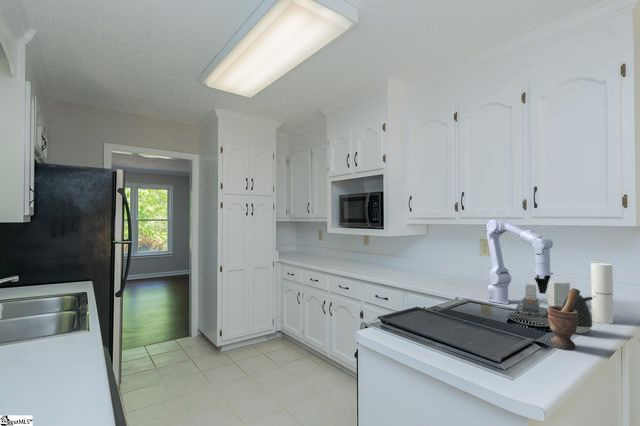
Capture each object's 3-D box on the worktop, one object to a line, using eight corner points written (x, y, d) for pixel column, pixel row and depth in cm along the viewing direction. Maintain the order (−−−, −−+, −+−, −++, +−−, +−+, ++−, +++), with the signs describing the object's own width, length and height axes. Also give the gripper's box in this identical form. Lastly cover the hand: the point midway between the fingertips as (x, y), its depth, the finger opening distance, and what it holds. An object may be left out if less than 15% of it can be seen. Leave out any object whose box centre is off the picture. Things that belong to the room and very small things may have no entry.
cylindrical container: (608, 324, 138) (607, 265, 138) (588, 320, 144) (587, 263, 145) (616, 322, 141) (615, 264, 142) (596, 317, 148) (595, 262, 148)
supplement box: (570, 308, 163) (570, 283, 163) (553, 307, 164) (553, 282, 164) (562, 304, 170) (562, 280, 170) (546, 304, 171) (546, 279, 171)
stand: (515, 312, 156) (514, 300, 156) (518, 307, 166) (518, 295, 166) (545, 317, 149) (545, 304, 149) (547, 311, 158) (547, 298, 158)
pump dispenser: (596, 338, 123) (595, 297, 123) (562, 333, 128) (561, 294, 129) (590, 329, 132) (589, 292, 132) (558, 325, 137) (557, 289, 137)
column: (525, 302, 157) (525, 285, 157) (526, 301, 160) (526, 283, 160) (535, 304, 154) (535, 286, 154) (536, 302, 158) (536, 285, 158)
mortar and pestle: (555, 337, 124) (555, 284, 124) (584, 344, 117) (583, 288, 117) (544, 345, 117) (543, 289, 117) (574, 353, 110) (573, 293, 110)
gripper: (552, 265, 146) (552, 296, 146) (553, 262, 158) (554, 290, 158) (533, 264, 151) (533, 293, 151) (536, 260, 162) (536, 288, 162)
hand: (543, 291), depth 154 cm, fingers open, 7 cm apart
